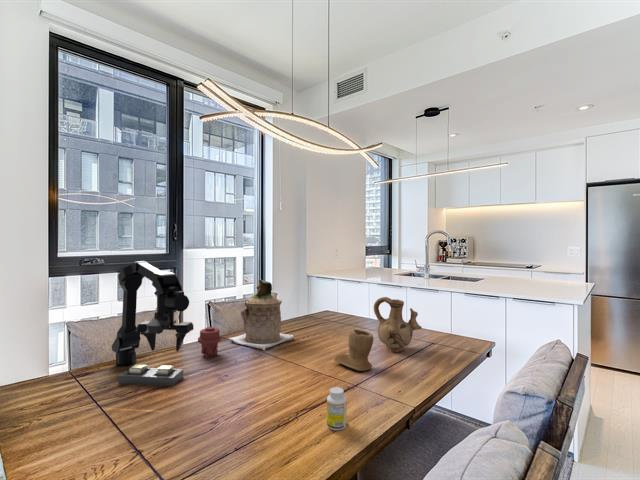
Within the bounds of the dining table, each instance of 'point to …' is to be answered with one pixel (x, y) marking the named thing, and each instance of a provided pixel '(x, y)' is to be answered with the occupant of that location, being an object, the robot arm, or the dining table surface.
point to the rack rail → (150, 378)
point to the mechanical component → (209, 341)
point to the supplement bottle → (336, 409)
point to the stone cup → (357, 351)
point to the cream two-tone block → (164, 370)
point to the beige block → (138, 369)
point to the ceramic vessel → (395, 325)
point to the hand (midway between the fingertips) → (165, 350)
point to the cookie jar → (262, 320)
